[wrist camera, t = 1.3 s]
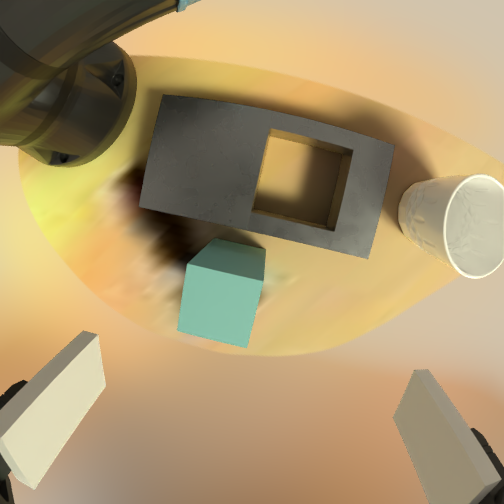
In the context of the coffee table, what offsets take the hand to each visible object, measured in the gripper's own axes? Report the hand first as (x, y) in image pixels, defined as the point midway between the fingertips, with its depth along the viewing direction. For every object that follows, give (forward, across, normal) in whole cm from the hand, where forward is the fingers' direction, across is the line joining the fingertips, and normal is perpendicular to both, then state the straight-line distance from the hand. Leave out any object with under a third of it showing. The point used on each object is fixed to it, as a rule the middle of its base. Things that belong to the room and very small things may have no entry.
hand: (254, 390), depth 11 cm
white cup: (+19, +16, +7) cm, 26 cm away
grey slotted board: (+19, -1, +8) cm, 21 cm away
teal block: (+19, -3, -1) cm, 19 cm away
